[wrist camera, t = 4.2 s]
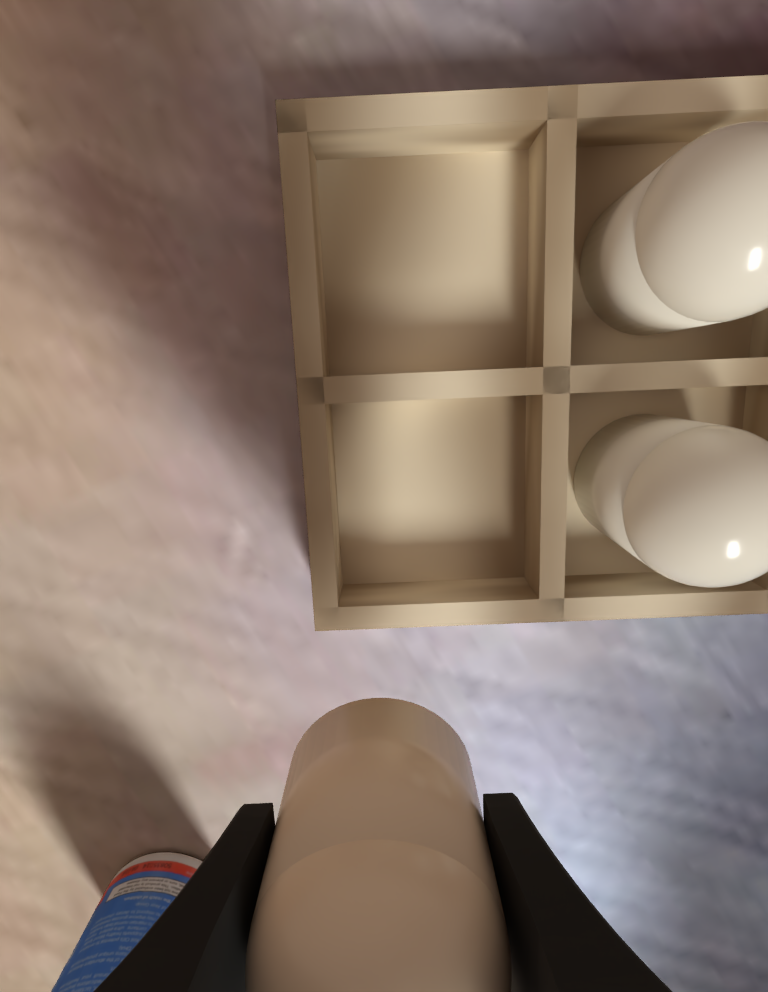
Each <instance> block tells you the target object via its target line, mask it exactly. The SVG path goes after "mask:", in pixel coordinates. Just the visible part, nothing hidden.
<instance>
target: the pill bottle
mask: <svg viewBox="0 0 768 992" xmlns="http://www.w3.org/2000/svg"><path fill="white" fill-rule="evenodd" d="M201 863H202V861H200V860H198V859H196V858H194V857H191V856H188V855H184V854H179V853H170V852H160V853H153V854H148V855H144V856H142V857H139V858H137V859H135V860H133V861H131V862H130V863H128V864H127V865H126V866H124V867H123V868H122V869H121V870H120V871H119V872H118V873H117V874H116V875H115V877H114V878H113V879H112V881H111V883H110V884H109V886H108V887H107V889H106V891H105V893H104V894H103V896H102V898H101V900H100V902H99V904H98V906H97V908H96V909H95V911H94V913H93V915H92V917H91V919H90V921H89V923H88V925H87V927H86V928H85V930H84V932H83V934H82V936H81V938H80V940H79V942H78V944H77V945H76V947H75V949H74V951H73V953H72V955H71V957H70V958H69V960H68V962H67V963H66V965H65V967H64V969H63V971H62V973H61V975H60V977H59V979H58V980H57V982H56V984H55V986H54V987H53V989H52V991H51V992H93V991H94V990H95V989H96V988H97V987H98V986H99V985H100V984H101V983H102V982H103V981H104V980H105V979H106V978H107V977H108V975H109V974H110V973H111V972H112V971H113V970H114V969H115V968H116V967H117V966H118V965H119V964H120V963H121V961H122V960H123V959H124V958H125V957H126V956H127V955H128V954H129V953H130V951H131V950H132V949H133V948H134V947H135V946H136V945H137V943H138V942H139V941H140V940H141V939H142V938H143V937H144V935H145V934H146V933H147V932H148V930H149V929H150V928H151V927H152V926H153V924H154V923H155V922H156V921H157V920H158V918H159V917H160V916H161V915H162V913H163V912H164V911H165V910H166V909H167V907H168V906H169V905H170V904H171V903H172V901H173V900H174V899H175V898H176V896H177V895H178V894H179V892H180V891H181V890H182V888H183V887H184V886H185V884H186V883H187V882H188V881H189V879H190V878H191V877H192V875H193V874H194V873H195V871H196V870H197V869H198V867H199V866H200V865H201Z"/></svg>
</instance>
